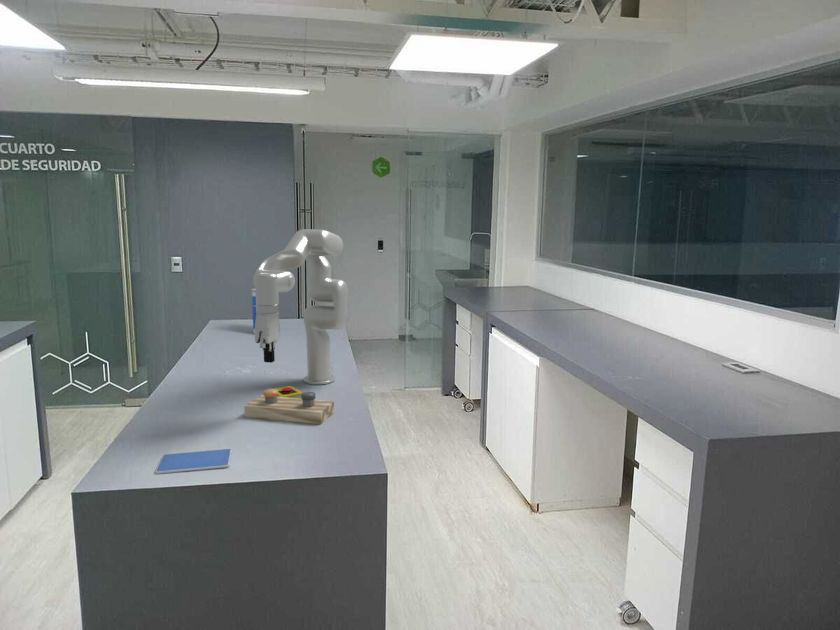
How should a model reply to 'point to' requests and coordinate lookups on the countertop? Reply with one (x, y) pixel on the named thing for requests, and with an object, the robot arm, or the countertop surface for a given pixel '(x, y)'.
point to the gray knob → (308, 399)
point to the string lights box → (254, 308)
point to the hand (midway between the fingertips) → (269, 361)
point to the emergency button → (289, 392)
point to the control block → (289, 410)
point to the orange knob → (271, 396)
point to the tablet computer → (194, 461)
